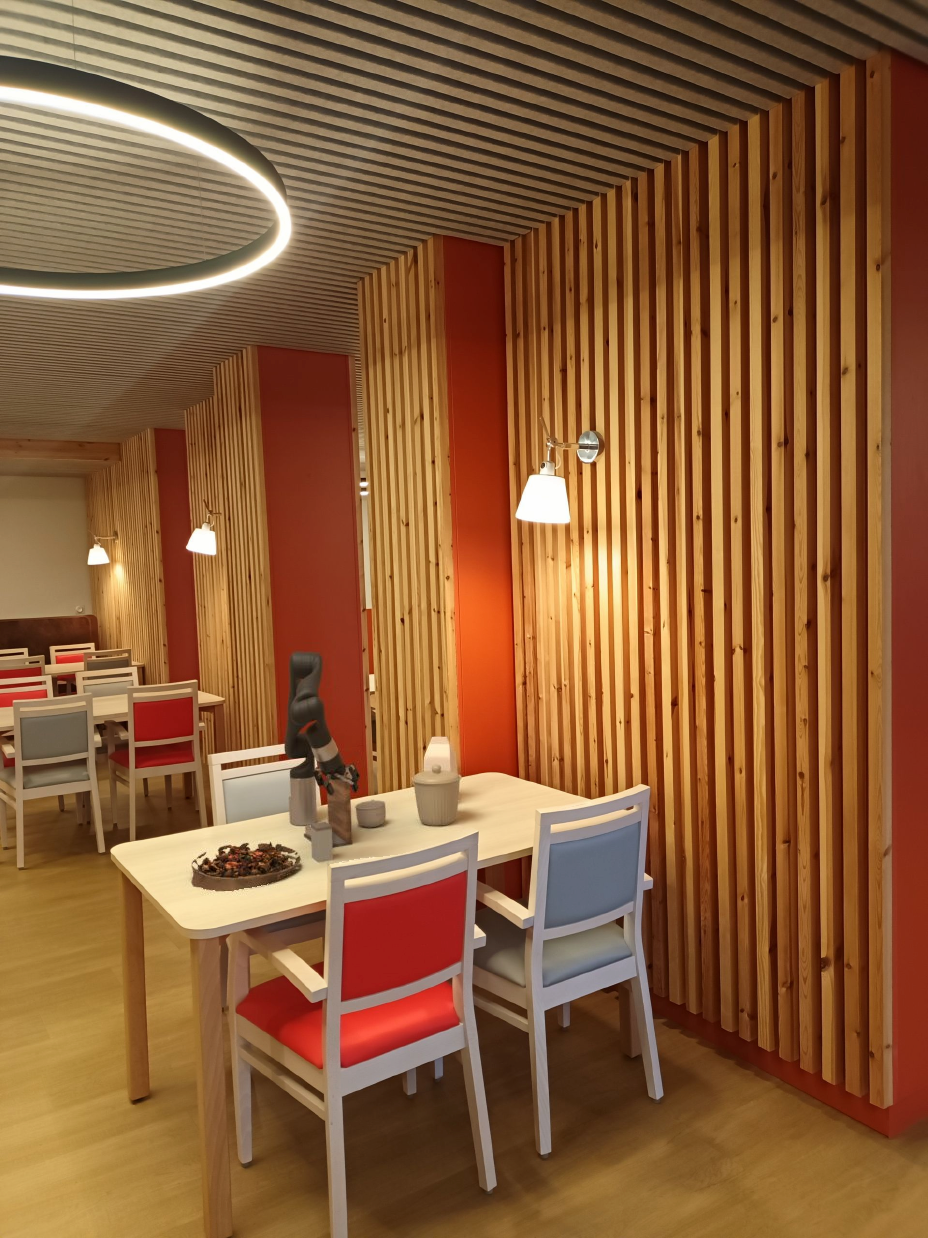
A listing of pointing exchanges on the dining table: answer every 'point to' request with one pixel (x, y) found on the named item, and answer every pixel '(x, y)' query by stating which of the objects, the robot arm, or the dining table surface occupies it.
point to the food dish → (243, 867)
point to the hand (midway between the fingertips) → (344, 792)
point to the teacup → (371, 813)
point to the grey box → (321, 841)
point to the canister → (437, 795)
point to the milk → (440, 755)
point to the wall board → (338, 814)
